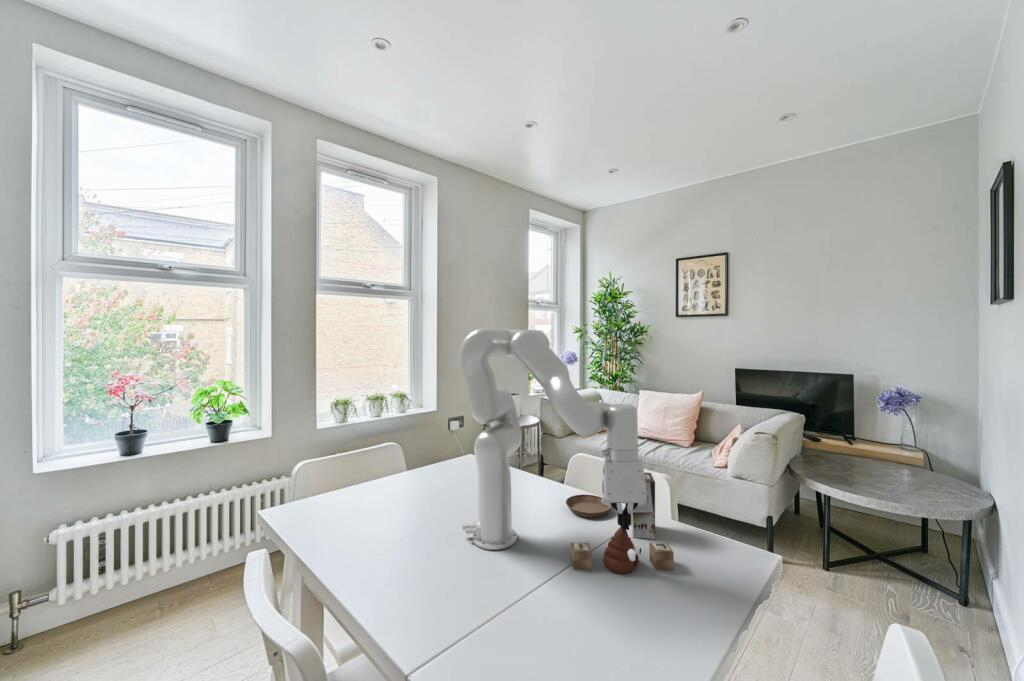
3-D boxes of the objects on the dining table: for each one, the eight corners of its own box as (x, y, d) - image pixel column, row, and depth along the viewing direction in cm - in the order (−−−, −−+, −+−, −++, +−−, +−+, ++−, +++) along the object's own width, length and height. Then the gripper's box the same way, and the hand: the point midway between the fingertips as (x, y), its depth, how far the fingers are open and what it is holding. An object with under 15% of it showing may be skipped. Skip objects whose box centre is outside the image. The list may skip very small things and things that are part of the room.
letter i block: (573, 570, 102) (572, 550, 102) (571, 560, 106) (570, 541, 106) (591, 570, 101) (591, 550, 101) (588, 560, 106) (588, 541, 106)
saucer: (620, 513, 135) (620, 504, 135) (588, 524, 126) (588, 516, 126) (588, 498, 147) (588, 491, 147) (556, 508, 138) (556, 500, 138)
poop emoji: (612, 550, 110) (613, 516, 110) (645, 561, 105) (645, 524, 105) (597, 567, 102) (597, 530, 102) (631, 580, 97) (631, 540, 97)
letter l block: (655, 570, 101) (654, 550, 101) (649, 560, 105) (649, 541, 105) (673, 570, 101) (673, 550, 101) (667, 560, 105) (667, 541, 105)
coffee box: (656, 539, 116) (655, 482, 116) (632, 537, 117) (631, 481, 117) (651, 525, 125) (651, 472, 125) (629, 523, 126) (629, 471, 126)
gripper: (595, 459, 100) (597, 535, 100) (657, 458, 99) (659, 534, 99) (590, 450, 107) (591, 521, 107) (648, 449, 107) (649, 520, 107)
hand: (624, 527), depth 103 cm, fingers closed
